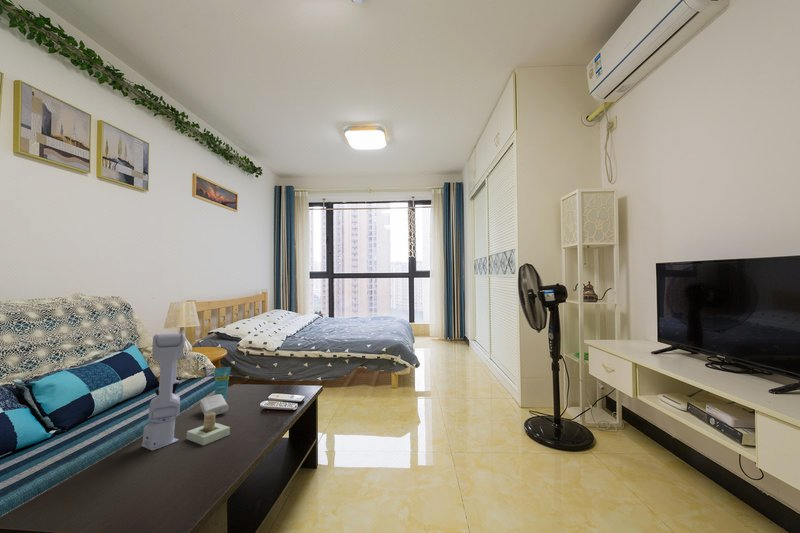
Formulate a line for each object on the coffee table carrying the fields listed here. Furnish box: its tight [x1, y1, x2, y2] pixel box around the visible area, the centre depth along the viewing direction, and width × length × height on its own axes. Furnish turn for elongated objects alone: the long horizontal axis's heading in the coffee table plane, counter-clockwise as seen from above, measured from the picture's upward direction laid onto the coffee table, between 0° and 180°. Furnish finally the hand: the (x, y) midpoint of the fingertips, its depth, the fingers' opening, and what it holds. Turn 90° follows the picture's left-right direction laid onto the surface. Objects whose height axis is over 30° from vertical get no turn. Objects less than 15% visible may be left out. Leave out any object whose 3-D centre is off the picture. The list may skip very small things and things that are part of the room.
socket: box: [186, 422, 231, 446], centre depth 134 cm, size 11×11×3 cm
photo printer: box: [199, 394, 229, 416], centre depth 159 cm, size 10×4×12 cm
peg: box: [203, 412, 217, 433], centre depth 134 cm, size 4×4×9 cm
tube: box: [214, 366, 232, 402], centre depth 169 cm, size 7×5×19 cm, turn 124°
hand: (166, 403), depth 142 cm, fingers open, 7 cm apart
